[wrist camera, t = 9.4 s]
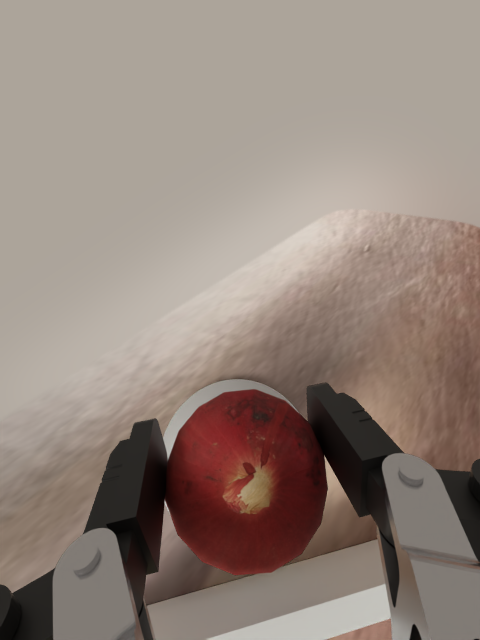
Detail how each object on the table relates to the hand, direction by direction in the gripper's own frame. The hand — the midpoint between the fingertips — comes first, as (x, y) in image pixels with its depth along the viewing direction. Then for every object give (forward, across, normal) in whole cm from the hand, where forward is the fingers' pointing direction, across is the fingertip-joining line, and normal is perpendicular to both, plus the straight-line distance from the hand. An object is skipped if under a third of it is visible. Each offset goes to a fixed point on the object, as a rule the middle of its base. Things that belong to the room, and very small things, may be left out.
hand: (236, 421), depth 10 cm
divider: (0, -1, +10) cm, 10 cm away
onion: (+2, 0, +4) cm, 5 cm away
